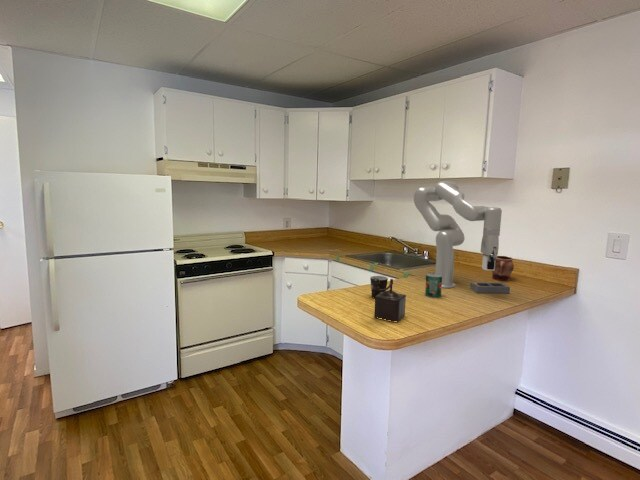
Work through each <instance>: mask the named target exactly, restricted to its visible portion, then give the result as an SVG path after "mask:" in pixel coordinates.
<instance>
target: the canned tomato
mask: <svg viewBox="0 0 640 480" xmlns="http://www.w3.org/2000/svg"><path fill="white" fill-rule="evenodd" d="M425 275H426V276H425V290H424V292H425V293H424V295H425V297H426V298H430V299H440V298H441V297H442V275H441V274H437V273H436V272H430V273H429V272H427V273H426V274H425Z"/></svg>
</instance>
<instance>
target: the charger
mask: <svg viewBox="0 0 640 480" xmlns="http://www.w3.org/2000/svg"><path fill="white" fill-rule="evenodd" d="M495 260H496V259H495ZM488 261H489V256H488V255H483V254H482V261H481V262H482V265H481V269H482V270H484V271H489V272H490V271H495V264H494V269H487V264H488Z"/></svg>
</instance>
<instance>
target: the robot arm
mask: <svg viewBox="0 0 640 480" xmlns="http://www.w3.org/2000/svg"><path fill="white" fill-rule="evenodd" d="M442 200H445V202H447V203H448V204H449V205H451V206H452V208H453V210H454V212H456V213H457V214H458V215H459V216H460V217H462V218H464V220H466V221H469V222H481V221H482V222H483V227H482V228H483V231H482V238H481V243H480V253H481V254H482V256H483V255H488V256H489V261H488V264H487V269H494V264H495V259H496V258H497V256H499V248H500V247H499V245H500V244H499V243H500V239H499V236H501V235H500V234H501V225H502V224H501V223H502V211H503V210H502V208H501V207H496V206H495V207H494V206H492V207H491V206H490V207H489V206H484V205H475V206H474V205H471V204H469V202H467V201H465V193H464V192H463V191H461V190H460V188H459V186H458V184H457V182H454V181H445V180H444V181H439V182H437V183H436V184H435V185H434V186H421V187H418V188H417V189H416V190H415V191H414V193H413V203H414V205H415V208H416V209H417V210H418V212H419V213H420V214H421V216H422V218H423V220H424V221H425V222H426V224H427V226H428V228H429V229H430V230H431V231H433V232H438V233H437V234H436V236H435V247H436V256H435V257H436V259H435V273H437V274H441V275H442V288H443V289H451V288H455V287H456V283H454V281H453V280H454V266H455V251H454V247H457V246H461V245H462V244H463V243H464V241H465V234H464V232H463V230H462V229H461V227H460V226H459V224H458V223H457V222H456V220H455V219H454V218H453V217H452V216H451V215H449V214H441V213H440V212H439V211H438V210H437V208H436V206H434V205H433V204H432V203H431V202H437V201H438V202H439V201H442Z"/></svg>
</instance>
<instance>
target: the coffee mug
mask: <svg viewBox="0 0 640 480" xmlns="http://www.w3.org/2000/svg"><path fill="white" fill-rule="evenodd" d="M373 278H377V279H379V280H380V284H379V285H378V287H379V289H385V288H387V287H388V279H389V278H388V276H384V275H373V276H370V280H369V281H371V279H373ZM372 287H373V286H372V285H371V284H370V289H371V290H370V291H371V292H370V293H371V298H372V297H374V298H375V296H377V295H378V294H379V293H380V292H383V291H378V290H373V289H372ZM374 298H373V299H374Z"/></svg>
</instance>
